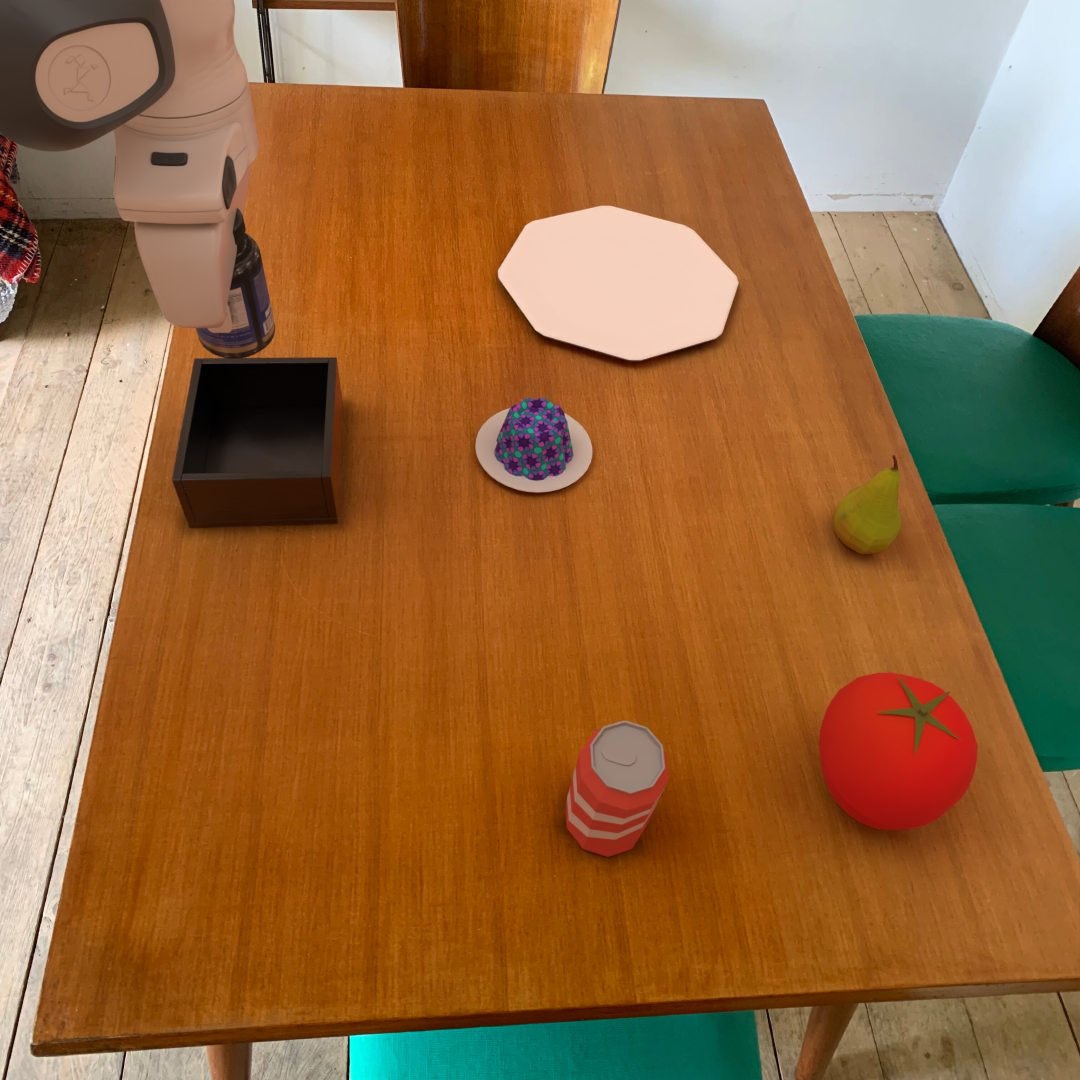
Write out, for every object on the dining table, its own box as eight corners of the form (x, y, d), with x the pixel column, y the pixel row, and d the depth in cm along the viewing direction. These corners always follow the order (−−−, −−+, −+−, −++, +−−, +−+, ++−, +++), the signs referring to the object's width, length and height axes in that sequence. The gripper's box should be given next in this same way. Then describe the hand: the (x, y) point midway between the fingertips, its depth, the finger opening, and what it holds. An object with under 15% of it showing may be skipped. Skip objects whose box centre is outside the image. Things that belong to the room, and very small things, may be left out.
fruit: (897, 563, 89) (950, 483, 80) (837, 568, 88) (884, 488, 79) (872, 511, 93) (920, 429, 83) (815, 516, 92) (857, 434, 82)
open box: (189, 527, 85) (171, 480, 80) (208, 407, 94) (194, 357, 89) (338, 523, 87) (330, 476, 81) (343, 406, 96) (336, 356, 91)
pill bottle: (239, 302, 78) (212, 183, 69) (292, 333, 76) (271, 216, 67) (182, 339, 74) (146, 219, 66) (236, 373, 73) (207, 255, 64)
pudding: (508, 395, 99) (510, 358, 95) (609, 436, 96) (617, 400, 92) (453, 468, 92) (453, 432, 88) (561, 514, 90) (566, 479, 85)
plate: (703, 390, 102) (706, 380, 100) (470, 324, 105) (471, 313, 104) (749, 252, 118) (752, 242, 117) (546, 198, 122) (547, 188, 120)
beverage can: (575, 771, 74) (593, 703, 64) (651, 795, 73) (682, 730, 64) (554, 842, 70) (570, 782, 61) (634, 869, 70) (664, 812, 60)
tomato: (950, 850, 72) (1031, 787, 62) (817, 857, 71) (879, 795, 61) (904, 718, 79) (971, 643, 69) (783, 723, 78) (833, 647, 68)
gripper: (162, 48, 66) (203, 215, 78) (107, 214, 54) (165, 385, 65) (252, 51, 67) (280, 217, 78) (217, 216, 55) (256, 385, 66)
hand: (227, 295), depth 72 cm, fingers closed on pill bottle, 6 cm apart
